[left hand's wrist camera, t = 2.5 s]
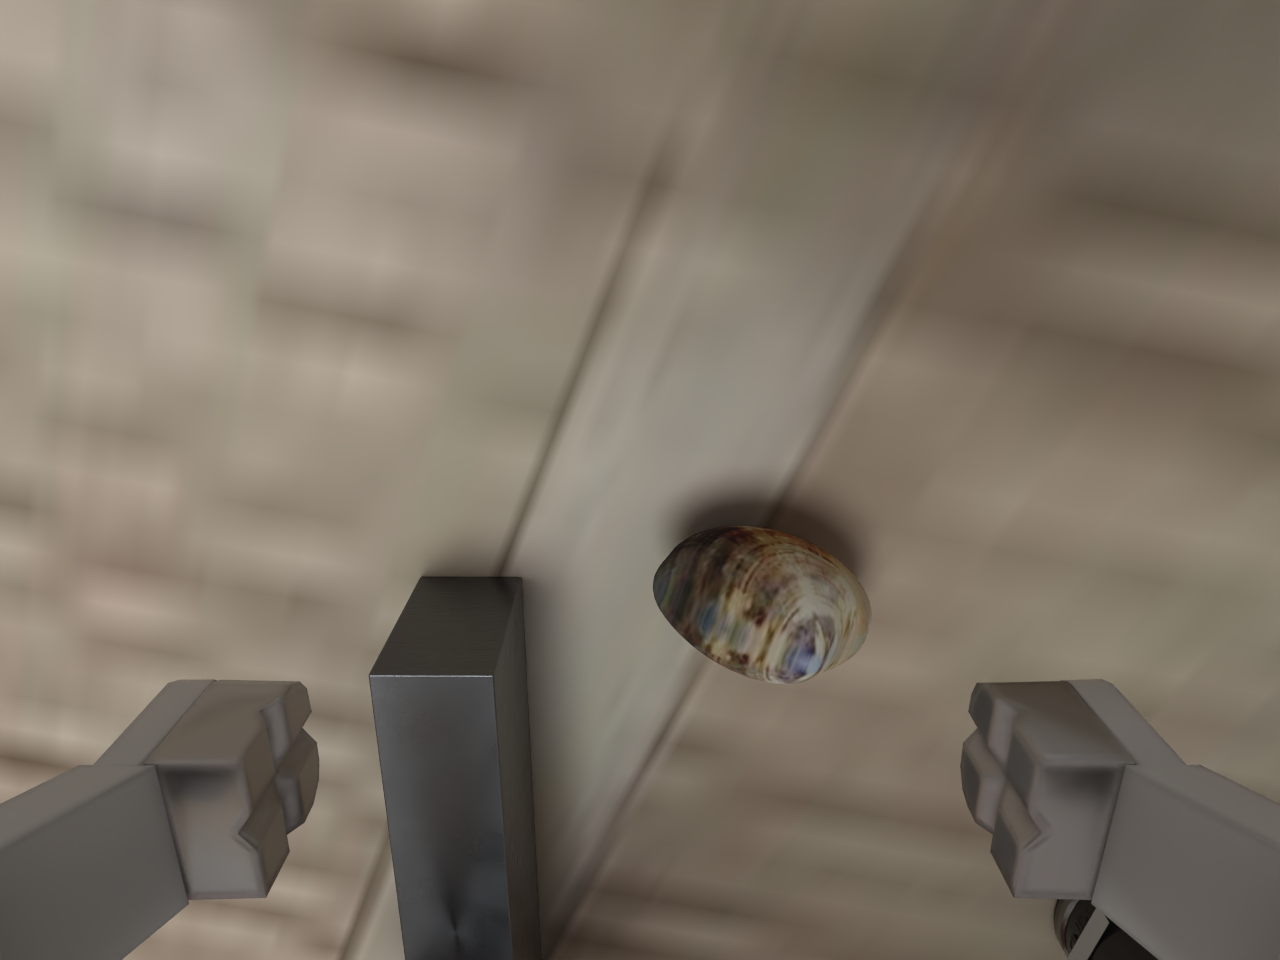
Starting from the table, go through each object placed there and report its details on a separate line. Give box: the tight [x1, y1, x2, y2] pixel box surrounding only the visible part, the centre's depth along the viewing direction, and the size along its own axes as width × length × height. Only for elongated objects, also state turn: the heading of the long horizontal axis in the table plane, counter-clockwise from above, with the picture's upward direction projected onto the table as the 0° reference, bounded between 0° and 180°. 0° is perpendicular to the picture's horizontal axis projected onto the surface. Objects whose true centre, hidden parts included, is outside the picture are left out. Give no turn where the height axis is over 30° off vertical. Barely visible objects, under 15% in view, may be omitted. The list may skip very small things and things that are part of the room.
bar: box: [369, 577, 541, 960], centre depth 40 cm, size 26×5×8 cm, turn 0°
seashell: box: [653, 526, 871, 684], centre depth 35 cm, size 10×6×8 cm, turn 74°
